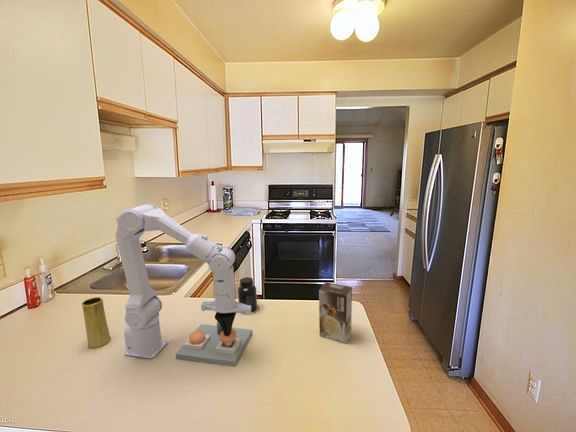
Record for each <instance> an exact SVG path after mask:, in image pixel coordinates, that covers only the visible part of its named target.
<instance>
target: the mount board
mask: <svg viewBox="0 0 576 432" xmlns="http://www.w3.org/2000/svg"><path fill="white" fill-rule="evenodd" d="M232 329H233V330H235V332H236V339H235V340H234V341H233V342H232V348H230V347H225V343H223V342H221V341H220V335H218V333H217V325H211V324H203V323H201V324H200V325H199V326H198V327H197V328H196V330H195V331H203V332H205V340H204V341H203V342H201V343H200V344H191V343H190V342H189V338H188V339H187V340H186V341H185V342H184V343H183V345H182V346H181V347H179V348H178V350H177V352H176V353H175V354H174V355H175V359H176V360H180V361H181V360H183V361H189V362H198V363H204V364H212V365H217V366H225V367H226V366H227V367H233V368H234V367H236V366H237V363H239V360H240V358H241V356H242V355H243V352H244V350H245V349H246V347H247V345H248V343H249V341H250V339H251V338H252V335H253V329H250V328H249V329H248V328H240V327H239V328H238V327H232Z"/></svg>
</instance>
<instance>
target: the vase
mask: <svg viewBox="0 0 576 432" xmlns="http://www.w3.org/2000/svg"><path fill="white" fill-rule="evenodd" d="M81 306H82V311H83V318H84V323H85V324H84V325H85V332H86V338H87V339H86V340H87V348H90V349H98V348H102V347H104V346H105V345H107V344H108V343H109V342H110V341H111V336H110V331H109V327H108V323H107V316H106V311H105V307H104V301H103V297H99V296H95V297H90V298H87V299H85V300H84V301H82V303H81Z"/></svg>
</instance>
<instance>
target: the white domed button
mask: <svg viewBox="0 0 576 432" xmlns="http://www.w3.org/2000/svg"><path fill="white" fill-rule="evenodd" d="M216 326H217V333H218V335H220V333H221V332H222V331H223V330H222V328H221V326H220V324H219V323H218V321H217V322H216Z"/></svg>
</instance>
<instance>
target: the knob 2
mask: <svg viewBox="0 0 576 432" xmlns="http://www.w3.org/2000/svg"><path fill="white" fill-rule="evenodd" d="M235 339H236V332H235V330H233V329H232V331H231V334H230V335H229V336H224V333H223V331H222V332H221V333H220V341H221V342H223V343H225V347H230V348H232V342H233V341H234V340H235Z"/></svg>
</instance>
